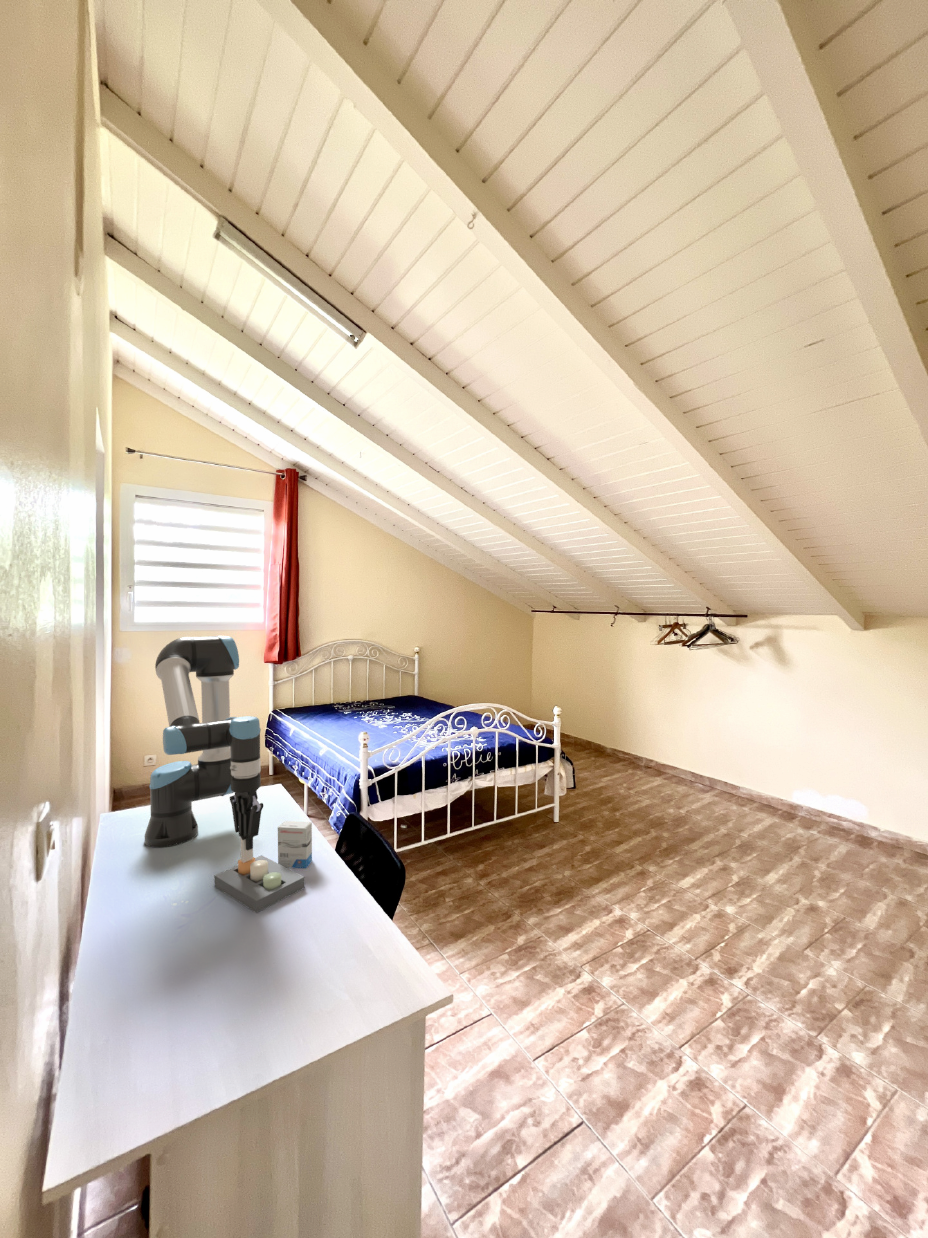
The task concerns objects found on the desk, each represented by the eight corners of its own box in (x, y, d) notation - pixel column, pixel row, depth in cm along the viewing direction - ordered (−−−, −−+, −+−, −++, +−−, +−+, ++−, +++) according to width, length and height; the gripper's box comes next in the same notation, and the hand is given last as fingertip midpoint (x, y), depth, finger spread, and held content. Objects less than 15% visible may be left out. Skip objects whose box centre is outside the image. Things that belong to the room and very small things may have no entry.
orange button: (234, 875, 143) (234, 861, 143) (249, 869, 146) (249, 855, 146) (243, 881, 140) (243, 866, 140) (258, 874, 144) (258, 859, 144)
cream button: (247, 879, 139) (246, 865, 139) (262, 872, 143) (261, 858, 143) (256, 885, 137) (256, 870, 137) (271, 878, 140) (271, 863, 140)
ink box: (312, 860, 154) (312, 821, 154) (306, 869, 149) (305, 828, 149) (285, 859, 155) (284, 820, 155) (277, 867, 150) (277, 827, 150)
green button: (259, 892, 136) (259, 877, 136) (274, 885, 139) (274, 870, 139) (269, 898, 133) (269, 883, 133) (284, 890, 137) (284, 875, 136)
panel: (214, 886, 140) (214, 875, 140) (261, 865, 151) (261, 855, 151) (256, 913, 128) (256, 901, 128) (304, 888, 139) (304, 877, 139)
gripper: (219, 773, 143) (221, 858, 144) (246, 783, 136) (247, 873, 136) (245, 766, 149) (246, 848, 150) (271, 775, 142) (273, 861, 142)
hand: (246, 860), depth 143 cm, fingers closed
